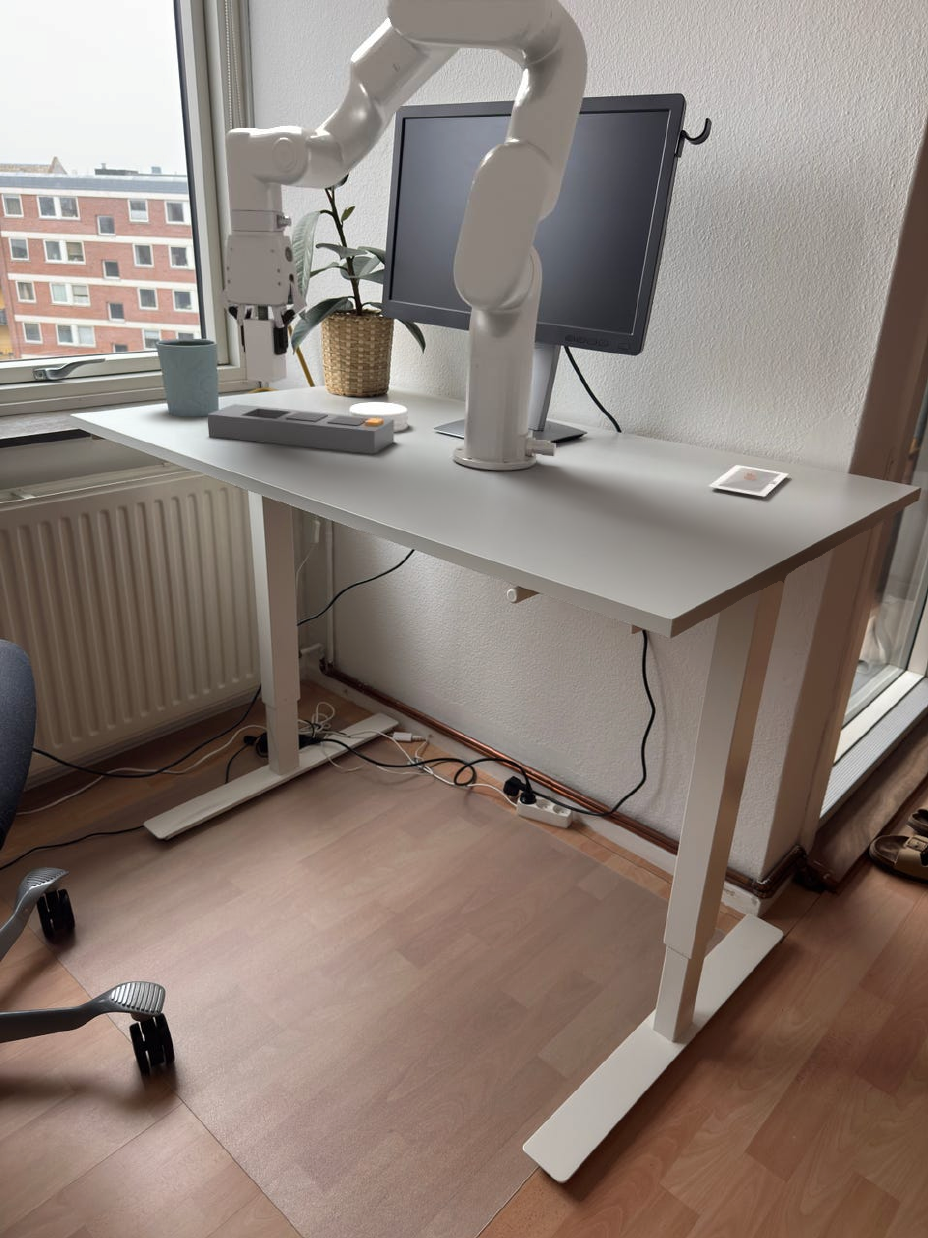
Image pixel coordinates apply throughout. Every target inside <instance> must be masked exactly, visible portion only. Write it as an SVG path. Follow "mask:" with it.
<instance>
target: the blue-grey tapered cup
mask: <svg viewBox="0 0 928 1238" xmlns="http://www.w3.org/2000/svg"><path fill="white" fill-rule="evenodd" d="M155 347H156V351H157V356H158V359H159V363H160V371H161V377H162V382H163V388H164V390H165V391H164V392H165V394H166V395H165V399H166V404H167V409H168V413H169V414H170V415H173V416H177V417H188V418H189V417H191V418H192V417H193V418H196V417H206V416H207V414H209V413H212V412H215V411H217V410H220V405H219V404H220V403H219V374H218V342H217V340H213V339H206V338H175V339H174V338H173V339H172V338H170V339H164V340H162V339H161V340H158V341H156V343H155Z"/></svg>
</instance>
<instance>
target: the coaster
mask: <svg viewBox="0 0 928 1238" xmlns="http://www.w3.org/2000/svg"><path fill="white" fill-rule="evenodd" d="M408 413H409V410H408V409H407V407H405V406H403V405H401V404H399V403H398V404H396V403H391V402H382V401H381V402H377V401H375V402H374V401H373V402H361V403H356V404H353V405H351V406H350V408H349V415H351V416H361V417H371V418H381V419H391V420H394V433H399V432H401V431H402V432H403V431H404V430H407V428H408V419H409V418H408Z"/></svg>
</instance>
